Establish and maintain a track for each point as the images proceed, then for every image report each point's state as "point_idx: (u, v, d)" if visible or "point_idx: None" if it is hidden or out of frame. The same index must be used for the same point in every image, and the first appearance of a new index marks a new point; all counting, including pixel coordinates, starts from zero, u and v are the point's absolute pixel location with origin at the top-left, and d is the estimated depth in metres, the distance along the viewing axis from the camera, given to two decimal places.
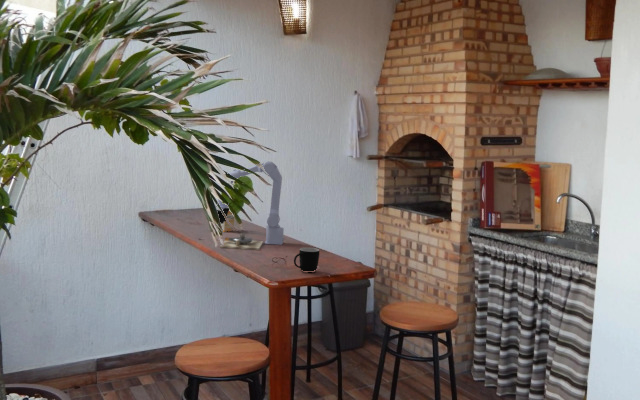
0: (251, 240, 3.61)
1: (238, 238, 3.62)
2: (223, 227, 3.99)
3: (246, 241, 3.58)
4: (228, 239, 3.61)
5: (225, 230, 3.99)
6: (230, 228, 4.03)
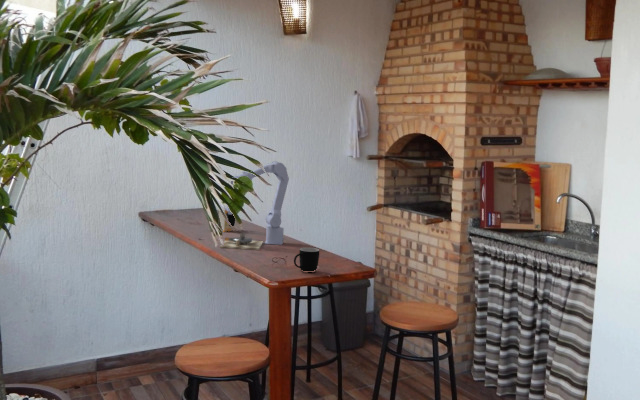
0: (251, 240, 3.61)
1: (238, 238, 3.62)
2: (223, 227, 3.99)
3: (246, 241, 3.58)
4: (228, 239, 3.61)
5: (225, 230, 3.99)
6: (230, 228, 4.03)
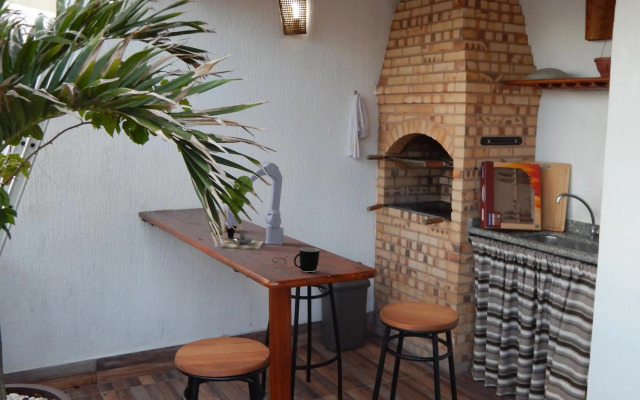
0: (251, 240, 3.61)
1: (238, 238, 3.62)
2: (223, 227, 3.99)
3: (246, 241, 3.58)
4: (228, 239, 3.61)
5: (225, 230, 3.99)
6: None
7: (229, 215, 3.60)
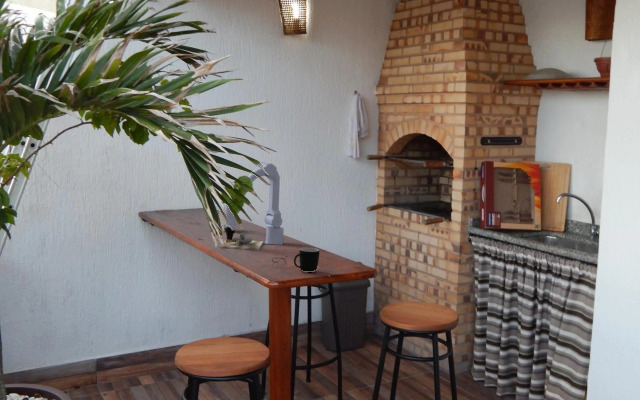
0: (251, 239, 3.64)
1: (238, 238, 3.61)
2: (223, 227, 3.99)
3: (250, 240, 3.60)
4: (231, 241, 3.57)
5: None
6: None
7: (230, 217, 3.55)
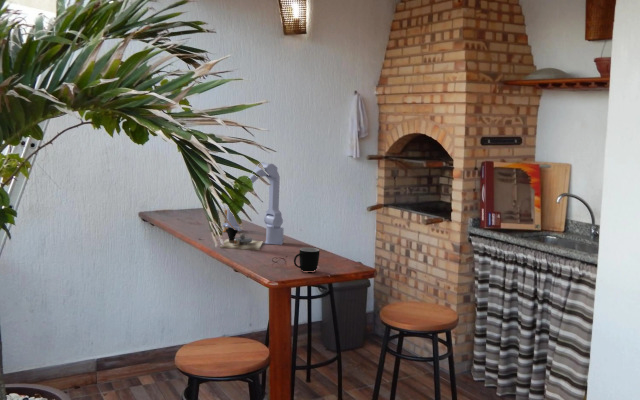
0: None
1: (239, 239, 3.60)
2: (223, 227, 3.99)
3: (251, 240, 3.62)
4: None
5: (225, 230, 3.99)
6: None
7: None
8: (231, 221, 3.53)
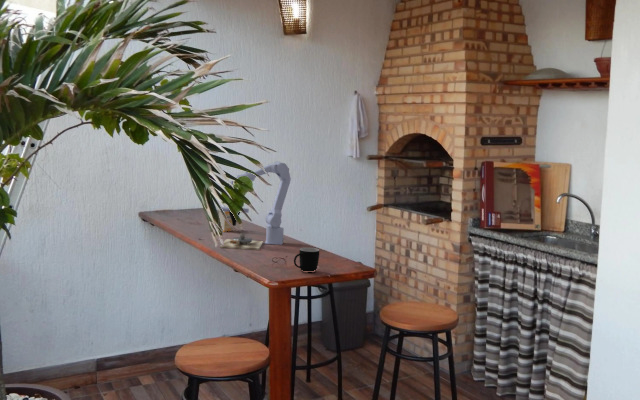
0: None
1: (239, 239, 3.60)
2: (223, 227, 3.99)
3: (251, 240, 3.62)
4: None
5: (225, 230, 3.99)
6: (230, 228, 4.03)
7: None
8: None
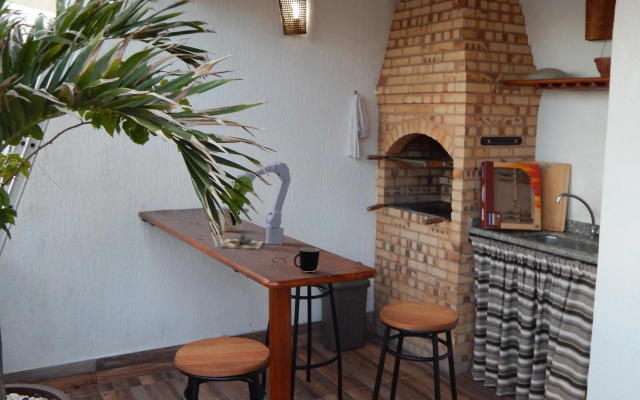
0: None
1: (239, 239, 3.60)
2: (223, 227, 3.99)
3: (251, 240, 3.62)
4: None
5: (225, 230, 3.99)
6: (230, 228, 4.03)
7: None
8: None
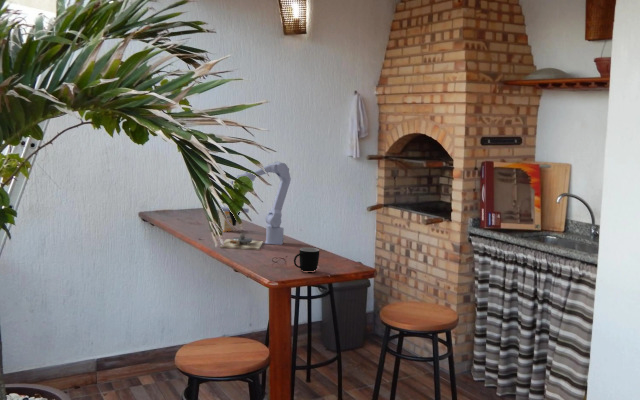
0: None
1: (239, 239, 3.60)
2: (223, 227, 3.99)
3: (251, 240, 3.62)
4: None
5: (225, 230, 3.99)
6: (230, 228, 4.03)
7: None
8: None
